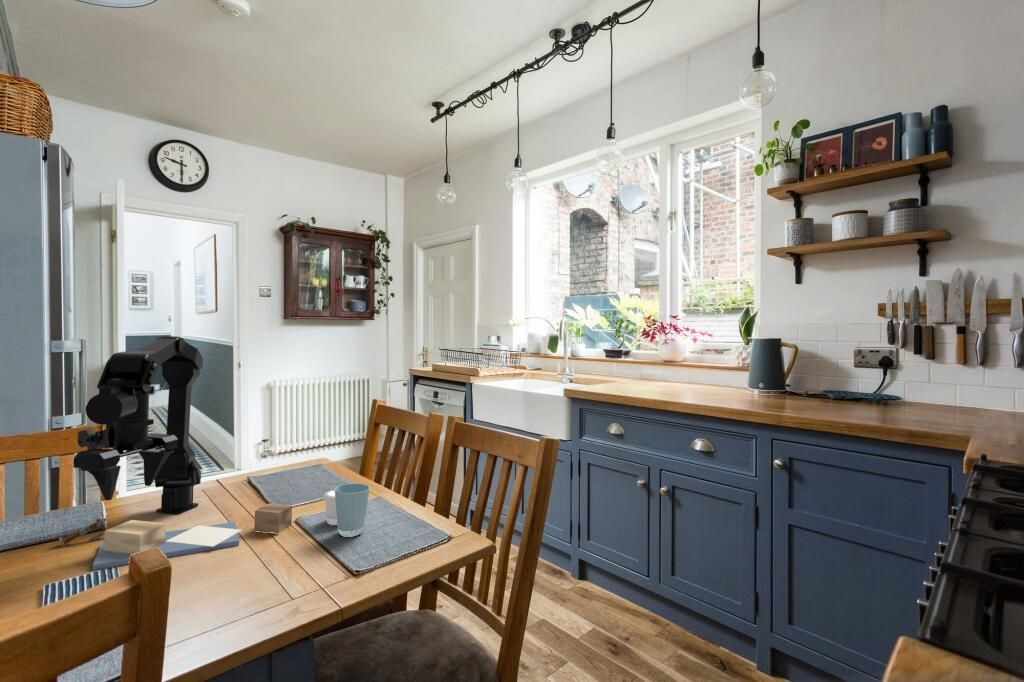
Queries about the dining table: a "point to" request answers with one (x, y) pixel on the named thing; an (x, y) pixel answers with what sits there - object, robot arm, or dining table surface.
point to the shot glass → (330, 504)
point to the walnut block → (273, 518)
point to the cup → (351, 505)
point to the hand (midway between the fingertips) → (128, 492)
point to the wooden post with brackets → (85, 530)
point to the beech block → (134, 536)
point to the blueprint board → (179, 543)
